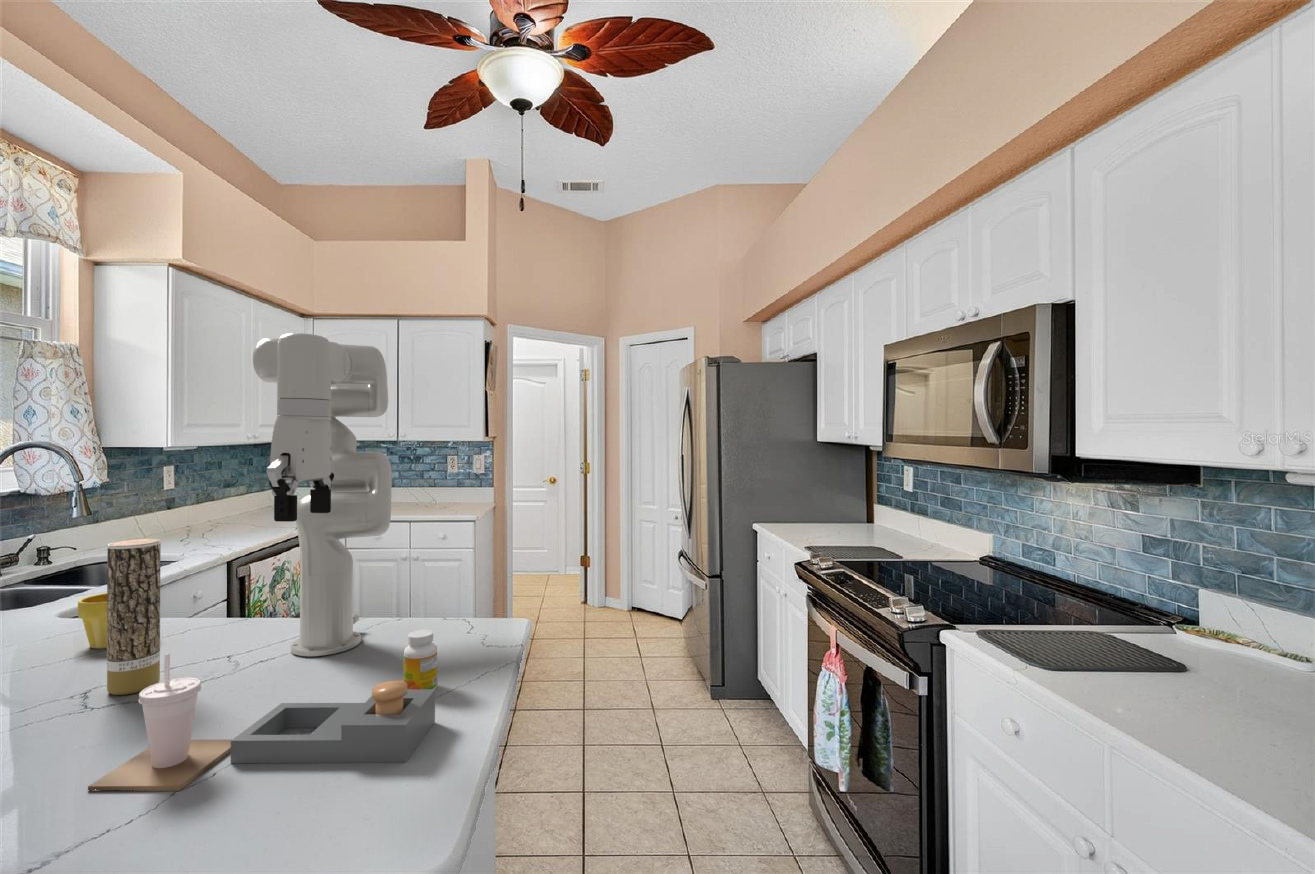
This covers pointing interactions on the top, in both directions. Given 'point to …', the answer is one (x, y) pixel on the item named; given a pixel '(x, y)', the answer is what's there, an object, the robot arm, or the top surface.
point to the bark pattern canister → (133, 615)
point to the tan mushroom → (389, 697)
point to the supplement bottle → (420, 661)
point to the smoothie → (169, 717)
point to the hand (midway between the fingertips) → (304, 516)
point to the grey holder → (337, 732)
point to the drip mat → (164, 769)
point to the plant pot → (94, 619)
